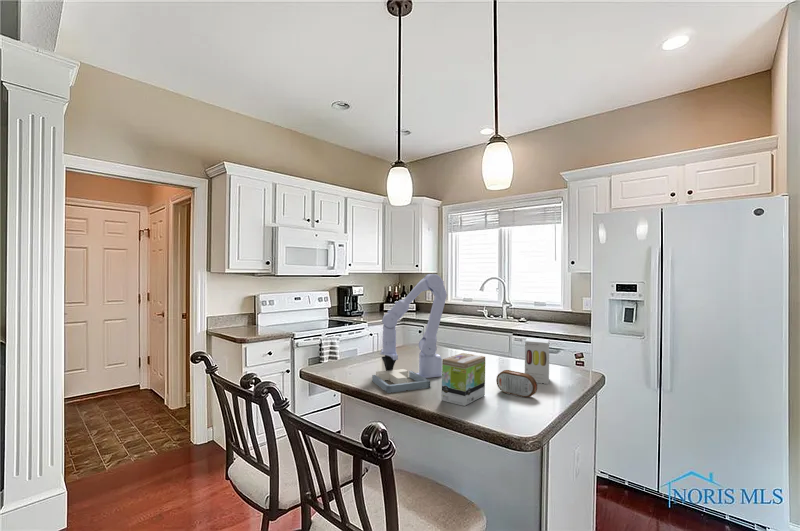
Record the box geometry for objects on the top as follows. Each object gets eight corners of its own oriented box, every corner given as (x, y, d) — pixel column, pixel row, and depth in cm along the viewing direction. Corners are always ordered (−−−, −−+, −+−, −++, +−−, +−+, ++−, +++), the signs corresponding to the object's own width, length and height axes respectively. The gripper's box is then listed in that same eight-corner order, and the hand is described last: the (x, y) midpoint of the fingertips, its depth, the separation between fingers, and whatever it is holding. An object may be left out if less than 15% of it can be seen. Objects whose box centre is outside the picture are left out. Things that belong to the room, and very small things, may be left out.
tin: (537, 398, 143) (537, 374, 143) (534, 400, 141) (534, 376, 141) (498, 389, 153) (499, 367, 153) (495, 391, 151) (495, 369, 151)
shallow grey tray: (411, 376, 171) (411, 370, 171) (430, 387, 155) (430, 381, 155) (372, 381, 164) (372, 375, 164) (387, 393, 148) (387, 386, 148)
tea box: (466, 407, 134) (466, 362, 134) (440, 401, 140) (440, 358, 140) (485, 395, 146) (485, 355, 146) (461, 390, 152) (461, 351, 152)
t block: (404, 375, 172) (404, 368, 172) (417, 383, 160) (417, 376, 160) (375, 378, 167) (375, 371, 167) (387, 387, 155) (387, 379, 155)
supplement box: (524, 381, 164) (524, 340, 164) (525, 376, 172) (525, 337, 173) (548, 384, 160) (548, 342, 160) (549, 378, 169) (549, 338, 169)
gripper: (374, 339, 176) (374, 370, 176) (386, 345, 163) (386, 378, 162) (389, 338, 179) (389, 368, 179) (402, 344, 165) (402, 376, 165)
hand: (389, 373), depth 171 cm, fingers closed
